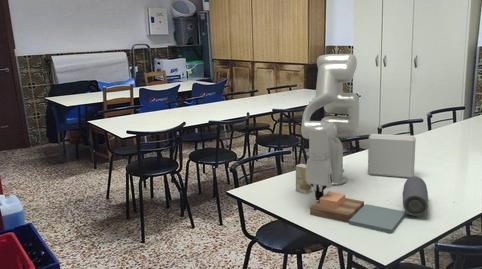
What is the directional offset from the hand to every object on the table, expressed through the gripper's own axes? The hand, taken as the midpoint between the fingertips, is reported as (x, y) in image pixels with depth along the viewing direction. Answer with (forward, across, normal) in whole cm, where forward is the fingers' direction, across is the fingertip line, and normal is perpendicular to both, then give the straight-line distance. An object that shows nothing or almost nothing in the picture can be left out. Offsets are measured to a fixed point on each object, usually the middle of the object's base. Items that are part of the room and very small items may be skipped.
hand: (319, 199), depth 174 cm
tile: (-1, +6, 0) cm, 6 cm away
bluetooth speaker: (+4, +33, +18) cm, 38 cm away
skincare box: (+4, -14, +14) cm, 20 cm away
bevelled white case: (+4, +12, +54) cm, 56 cm away
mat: (+4, +24, 0) cm, 24 cm away
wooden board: (+4, +8, 0) cm, 9 cm away
